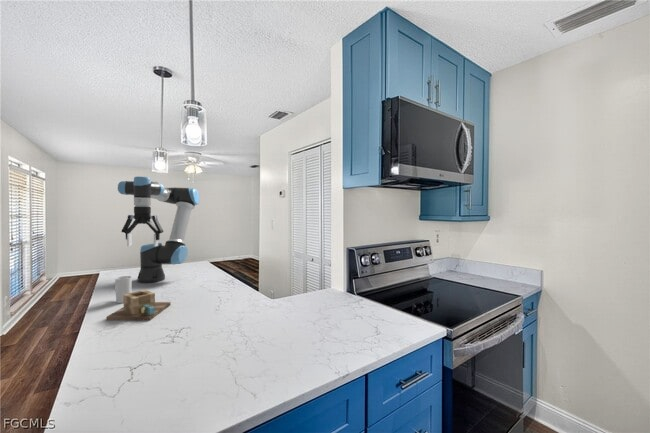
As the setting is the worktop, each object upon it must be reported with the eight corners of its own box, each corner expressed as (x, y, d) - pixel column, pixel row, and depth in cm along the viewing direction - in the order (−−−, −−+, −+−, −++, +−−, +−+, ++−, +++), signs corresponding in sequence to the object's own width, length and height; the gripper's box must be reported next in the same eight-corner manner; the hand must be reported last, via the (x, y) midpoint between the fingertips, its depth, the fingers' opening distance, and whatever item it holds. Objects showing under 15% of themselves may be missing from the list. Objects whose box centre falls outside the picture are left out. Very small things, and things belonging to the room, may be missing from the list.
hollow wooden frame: (123, 310, 129) (123, 294, 128) (144, 304, 137) (144, 289, 136) (141, 317, 121) (141, 301, 121) (162, 311, 129) (162, 295, 128)
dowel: (142, 314, 124) (142, 307, 124) (145, 314, 124) (145, 307, 124) (140, 316, 123) (140, 308, 123) (143, 316, 123) (143, 308, 123)
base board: (132, 304, 139) (132, 301, 139) (170, 305, 140) (170, 302, 140) (106, 320, 121) (106, 316, 121) (149, 320, 122) (149, 316, 122)
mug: (134, 300, 146) (134, 276, 145) (121, 304, 140) (120, 280, 139) (122, 297, 150) (122, 274, 149) (108, 300, 144) (108, 277, 143)
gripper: (113, 205, 146) (113, 246, 147) (163, 206, 147) (163, 247, 149) (122, 205, 154) (123, 244, 155) (170, 206, 155) (170, 245, 156)
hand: (142, 246), depth 152 cm, fingers open, 13 cm apart
